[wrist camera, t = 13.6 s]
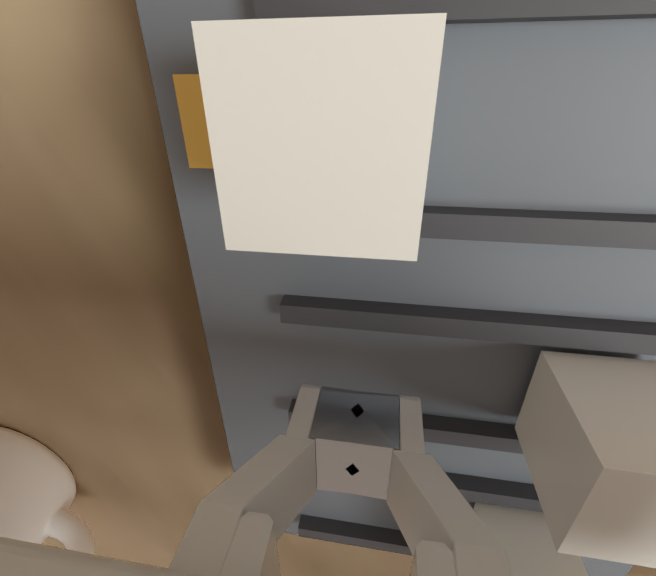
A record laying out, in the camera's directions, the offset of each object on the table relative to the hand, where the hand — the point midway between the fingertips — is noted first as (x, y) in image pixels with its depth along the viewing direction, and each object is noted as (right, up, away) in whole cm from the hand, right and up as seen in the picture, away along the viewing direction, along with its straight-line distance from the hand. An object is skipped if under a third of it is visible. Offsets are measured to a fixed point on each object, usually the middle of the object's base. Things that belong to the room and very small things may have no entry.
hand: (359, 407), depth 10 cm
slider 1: (0, +7, -2) cm, 7 cm away
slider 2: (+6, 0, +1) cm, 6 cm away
